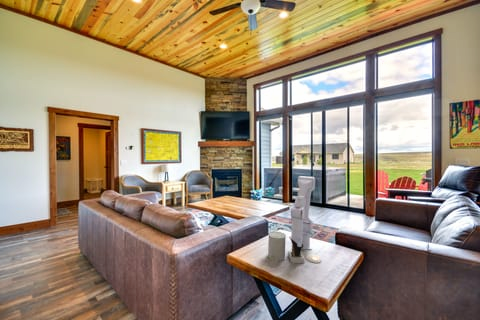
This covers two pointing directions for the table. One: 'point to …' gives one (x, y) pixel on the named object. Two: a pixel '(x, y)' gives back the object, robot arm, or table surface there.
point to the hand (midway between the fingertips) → (296, 253)
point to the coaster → (313, 258)
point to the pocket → (295, 258)
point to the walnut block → (294, 252)
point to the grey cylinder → (276, 246)
